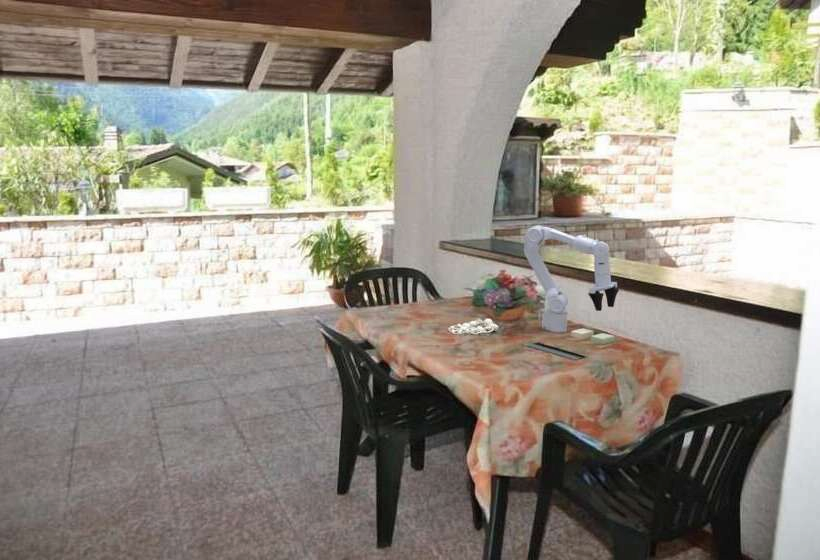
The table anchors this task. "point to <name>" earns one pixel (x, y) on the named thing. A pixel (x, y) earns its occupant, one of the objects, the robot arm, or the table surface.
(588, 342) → the board
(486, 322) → the tangled rod sculpture
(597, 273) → the robot arm
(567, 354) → the mat
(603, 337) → the tile sage
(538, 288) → the lollipop
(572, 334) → the tile cream
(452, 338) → the table surface
